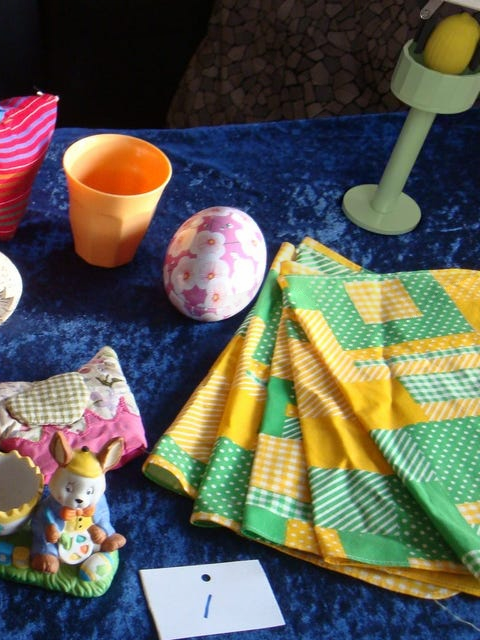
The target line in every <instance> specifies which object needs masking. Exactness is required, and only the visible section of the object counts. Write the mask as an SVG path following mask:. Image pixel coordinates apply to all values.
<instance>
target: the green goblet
mask: <svg viewBox="0 0 480 640" xmlns="http://www.w3.org/2000/svg"><path fill="white" fill-rule="evenodd" d="M413 39H414V38H412V39H409V40H408V41H407V42H406V43H405V44H404V46H403V47H402V50H401V52H400V55H399V57H398V60H397V63H396V64H395V67H394V70H393V73H392V75H391V79H390V83H389V87H390V91H391V92H392V94H393V95H394V96H395V97H396V98H397V99H398V100H400V101H401V102H402V103H404V104H406V105H408V106H409V107H410V109H409V111H408V114H407V116H406V118H405V121H404V123H403V125H402V128H401V130H400V132H399V135H398V136H397V139H396V141H395V144H394V147H393V149H392V151H391V154H390V156H389V159H388V161H387V162H386V163H387V164H386V166H385V167H384V170H383V172H382V175H381V177H380V179H379V183H378V184H373V183H372V184H370V183H369V184H368V183H367V184H360V185H356V186H353V187H352V188H350V189H349V190H347V192H346V193H345V194H344V196H343V198H342V201H341V208H342V211H343V213H344V215H345V216H346V217H347V218H348V219H349V220H350V222H352V223H353V224H355V225H356V226H358V227H360V228H362V229H364V230H366V231H369V232H372V233H376V234H379V235H388V236H389V235H390V236H393V235H394V236H395V235H402V234H403V235H404V234H407V233H409V232H411V231H413V230H414V229H415V228H416V227H417V226H418V224H419V222H420V220H421V217H422V213H421V209H420V207H419V204H417V202H416V201H415V200H414V199H413V198H412V197H410V196H409V195H408V194H406V193H404V192H403V190H404V188H405V185H406V183H407V180H408V178H409V177H410V173H411V172H412V169H413V167H414V165H415V163H416V161H417V159H418V156H419V154H420V152H421V149H423V148H422V147H423V145H424V143H425V141H426V139H427V136H428V134H429V132H430V130H431V128H432V125H433V123H434V121H435V119H436V117H437V114H439V115H440V114H442V115H450V114H459V113H463V112H465V111H467V110H470V109H471V108H472V107H473V106H474V104H475V102H476V101H477V99H478V97H479V95H480V65H479V66H478V68H477V69H476V70H475V72H473V71H470V69H469V67H468V68H467V69H466V70H464V71H463V72H462V73H460V74H459V75H450V74H443V73H440V72H437V71H433V70H430V69H427V68H426V67H425V64H424V61H423V53H424V50H423V51H422V52H421V54H415V53H414V50H415V48H416V45H417V43H416V42H413Z"/></svg>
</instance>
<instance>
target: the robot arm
mask: <svg viewBox="0 0 480 640" xmlns="http://www.w3.org/2000/svg"><path fill="white" fill-rule="evenodd" d="M414 1H415V4H416V5H417V7H418V10H419V17H420V18H421V19H420V21H419V23H418V26H417V29H416V32H415V33H414V37H413V38H412V39H413V42H416V43H417V45H416V48H415V50H414V53H415V54H421V52H422V51H423V50H424V47H425V44H426V42H427V39H428V37H429V35H430V34H431V32H432V31H433V29H434V28H435V27H436V26H437V25H438V23H439V20H440V17H441V14H440V6H442V4H443V3H444V2H446V3H450V4H453V5H458V6H461V7H465V8H468V9H472V10H476V11H479V12H480V0H414ZM479 65H480V44H479V47H478V49H477V51H476V53H475V55H474V58H473V60H472V62H471V64H470V66H469V69H470V71H473V72H475V70H476V69H477V68H478V66H479Z"/></svg>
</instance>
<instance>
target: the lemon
mask: <svg viewBox="0 0 480 640" xmlns="http://www.w3.org/2000/svg"><path fill="white" fill-rule="evenodd" d="M479 44H480V24H479V23H478V21H477V20H476V18H474V17H473V16H471V15H470V13H469V12H465V11H464V12H462V13H456V14H452V15H449V16H447V17H445V18H444V19H442V20H440V21H439V22H438V23H437V24H436V26H435V28H434V29H433V31H432V32H431V34H430V35H429V37H428V39H427V42H426V44H425V47H424V53H423V61H424V64H425V67H426V68H427V69H430V70H433V71H437V72H440V73H443V74H450V75H459V74H460V73H462V72H463V71H464V70H466V69H467V68H468V67H469V66H470V64H471V62H472V60H473V58H474V55H475V53H476V51H477V49H478V47H479Z"/></svg>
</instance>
